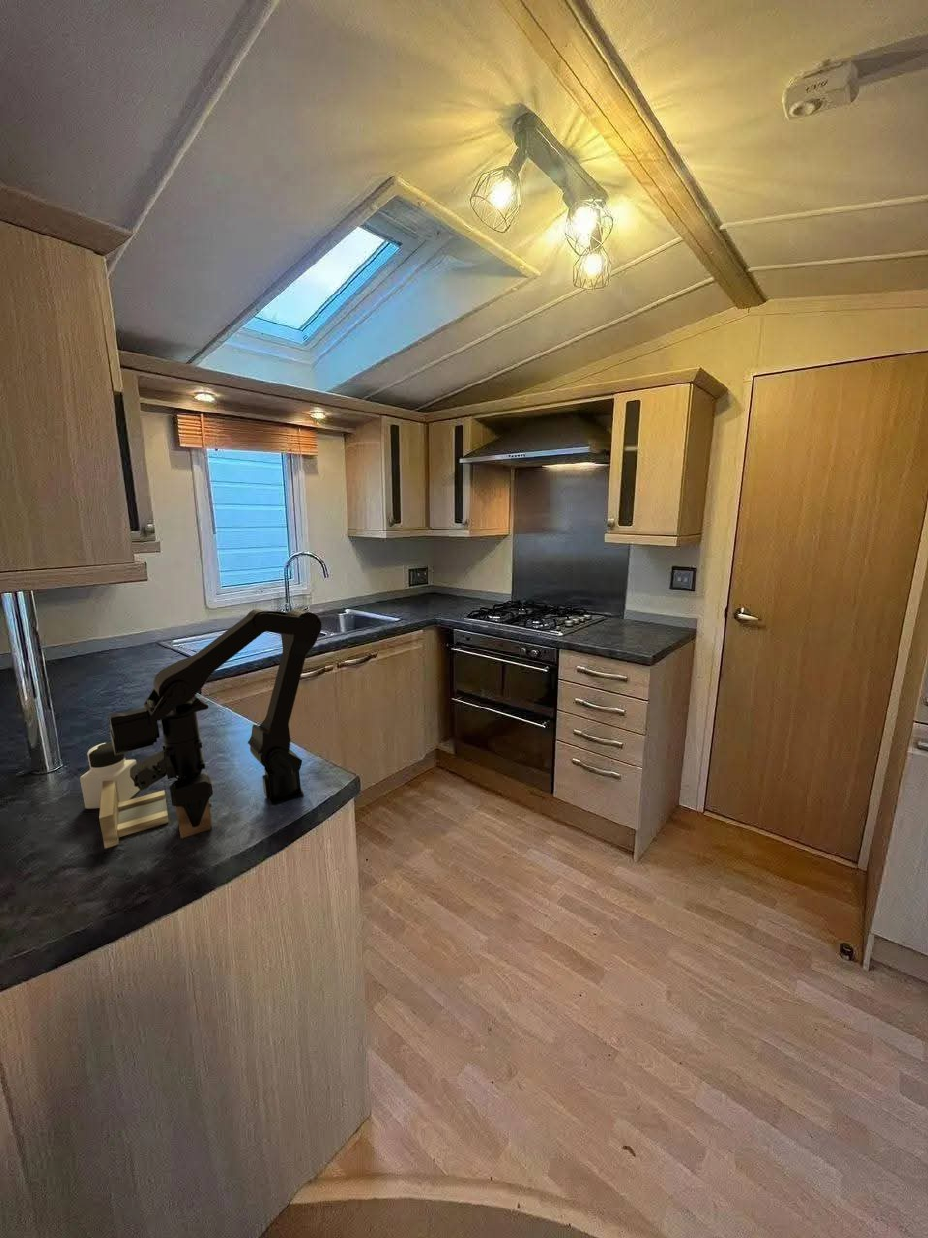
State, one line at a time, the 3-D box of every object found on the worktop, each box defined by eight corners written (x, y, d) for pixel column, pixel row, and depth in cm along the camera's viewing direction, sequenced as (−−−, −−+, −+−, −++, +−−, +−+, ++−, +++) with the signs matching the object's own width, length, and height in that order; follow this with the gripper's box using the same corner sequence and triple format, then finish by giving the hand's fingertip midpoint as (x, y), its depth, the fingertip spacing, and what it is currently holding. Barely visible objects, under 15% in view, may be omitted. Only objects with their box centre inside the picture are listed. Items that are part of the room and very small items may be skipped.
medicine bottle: (141, 789, 109) (133, 737, 107) (120, 808, 102) (111, 753, 100) (108, 790, 109) (98, 739, 106) (84, 809, 102) (74, 754, 99)
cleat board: (164, 791, 108) (160, 765, 107) (169, 828, 95) (165, 800, 93) (107, 806, 102) (103, 780, 101) (104, 848, 89) (99, 818, 88)
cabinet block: (211, 815, 99) (207, 787, 98) (215, 827, 95) (211, 799, 94) (178, 825, 96) (174, 796, 95) (180, 838, 92) (176, 809, 91)
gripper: (129, 730, 95) (141, 805, 98) (129, 770, 80) (144, 857, 83) (195, 716, 101) (205, 787, 104) (207, 751, 85) (218, 833, 89)
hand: (193, 814), depth 95 cm, fingers open, 9 cm apart
